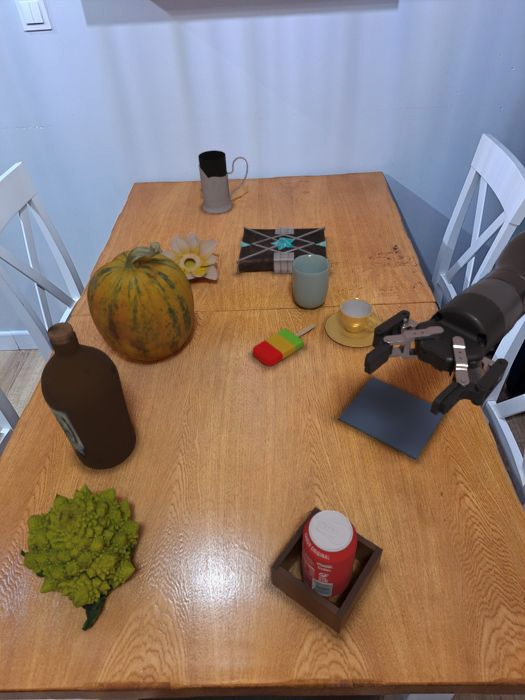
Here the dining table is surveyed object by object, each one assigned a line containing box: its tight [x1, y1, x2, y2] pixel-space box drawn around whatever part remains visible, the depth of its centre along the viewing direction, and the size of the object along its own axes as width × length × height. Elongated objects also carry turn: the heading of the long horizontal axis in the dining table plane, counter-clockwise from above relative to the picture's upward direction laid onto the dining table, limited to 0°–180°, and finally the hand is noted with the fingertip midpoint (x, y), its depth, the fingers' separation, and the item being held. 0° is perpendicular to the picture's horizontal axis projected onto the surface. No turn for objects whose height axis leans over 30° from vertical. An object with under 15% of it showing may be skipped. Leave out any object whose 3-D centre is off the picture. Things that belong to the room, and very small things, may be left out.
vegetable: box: [20, 483, 140, 632], centre depth 63 cm, size 15×16×15 cm
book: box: [236, 226, 330, 274], centre depth 121 cm, size 22×17×5 cm
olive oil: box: [40, 321, 137, 470], centre depth 72 cm, size 11×11×25 cm
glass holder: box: [197, 149, 249, 214], centre depth 139 cm, size 9×14×15 cm, turn 100°
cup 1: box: [291, 254, 331, 310], centre depth 104 cm, size 8×8×10 cm
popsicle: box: [252, 323, 317, 367], centre depth 97 cm, size 6×15×2 cm, turn 131°
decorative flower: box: [160, 231, 219, 281], centre depth 114 cm, size 15×11×10 cm
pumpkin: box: [86, 241, 195, 362], centre depth 91 cm, size 19×19×25 cm
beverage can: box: [300, 509, 357, 598], centre depth 60 cm, size 6×6×12 cm
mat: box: [338, 376, 445, 460], centre depth 83 cm, size 14×12×1 cm
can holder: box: [270, 506, 384, 635], centre depth 62 cm, size 10×10×5 cm
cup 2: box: [324, 297, 383, 348], centre depth 98 cm, size 12×12×5 cm
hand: (398, 387), depth 53 cm, fingers open, 8 cm apart
